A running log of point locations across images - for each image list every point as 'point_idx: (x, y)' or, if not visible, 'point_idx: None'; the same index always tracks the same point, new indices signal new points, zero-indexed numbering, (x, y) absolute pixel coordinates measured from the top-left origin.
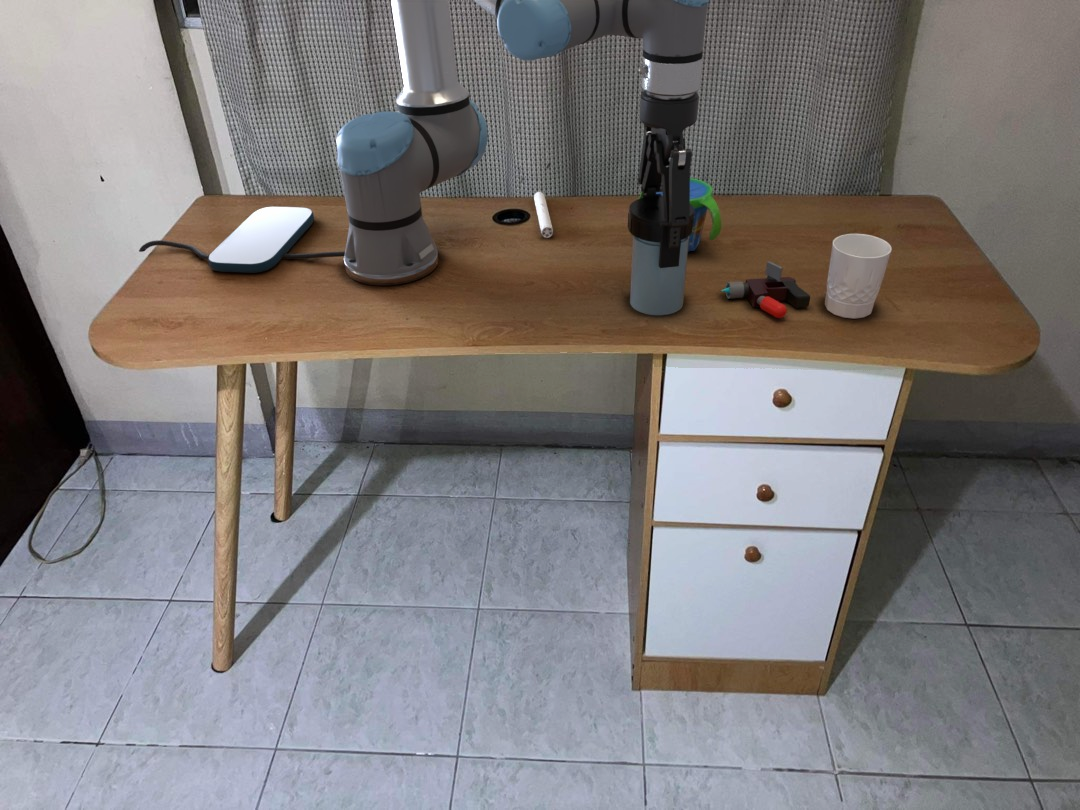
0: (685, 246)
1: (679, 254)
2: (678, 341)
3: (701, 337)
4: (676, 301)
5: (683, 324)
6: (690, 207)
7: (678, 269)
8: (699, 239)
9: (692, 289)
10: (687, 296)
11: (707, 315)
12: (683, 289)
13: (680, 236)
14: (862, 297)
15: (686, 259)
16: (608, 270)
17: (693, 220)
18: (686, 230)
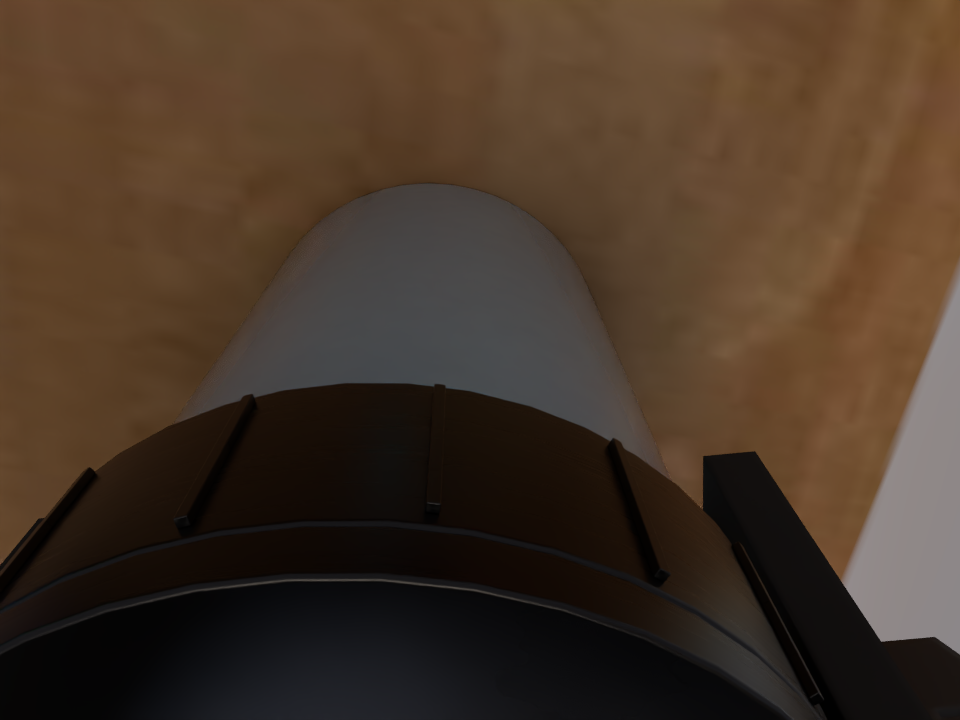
0: (613, 426)
1: (796, 522)
2: (906, 309)
3: (905, 165)
4: (582, 282)
5: (727, 241)
6: (349, 636)
7: (631, 390)
8: None
9: (267, 75)
10: (369, 135)
11: (648, 57)
12: (525, 240)
13: (906, 687)
14: None
15: (532, 317)
16: (5, 549)
17: (439, 446)
18: (748, 590)
